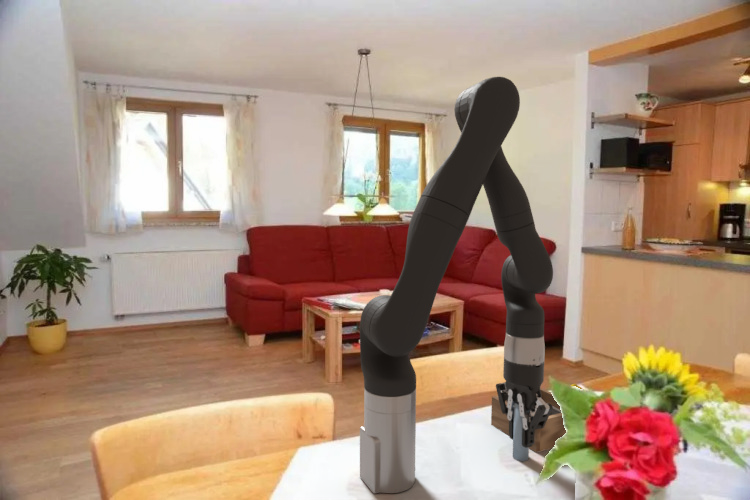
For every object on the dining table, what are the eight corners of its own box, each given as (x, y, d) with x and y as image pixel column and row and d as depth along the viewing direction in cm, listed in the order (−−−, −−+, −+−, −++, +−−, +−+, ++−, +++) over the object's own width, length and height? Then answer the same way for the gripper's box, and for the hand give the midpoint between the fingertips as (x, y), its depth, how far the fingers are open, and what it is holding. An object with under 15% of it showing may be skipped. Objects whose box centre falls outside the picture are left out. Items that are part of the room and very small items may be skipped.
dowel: (519, 462, 97) (521, 407, 96) (509, 455, 99) (511, 401, 98) (531, 458, 98) (533, 404, 97) (521, 452, 101) (522, 399, 100)
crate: (535, 452, 100) (537, 421, 100) (491, 424, 113) (491, 396, 112) (586, 438, 106) (587, 409, 106) (538, 413, 119) (539, 386, 118)
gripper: (485, 349, 101) (483, 431, 103) (535, 370, 89) (532, 463, 90) (514, 344, 104) (511, 424, 106) (566, 364, 92) (562, 454, 94)
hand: (521, 441), depth 98 cm, fingers closed on dowel, 3 cm apart
